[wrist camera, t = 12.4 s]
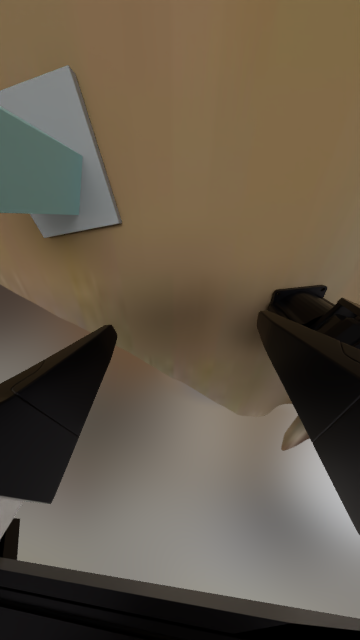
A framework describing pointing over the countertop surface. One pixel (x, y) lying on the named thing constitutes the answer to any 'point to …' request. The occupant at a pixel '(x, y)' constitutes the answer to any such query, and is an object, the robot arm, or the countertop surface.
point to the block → (36, 170)
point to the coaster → (74, 132)
